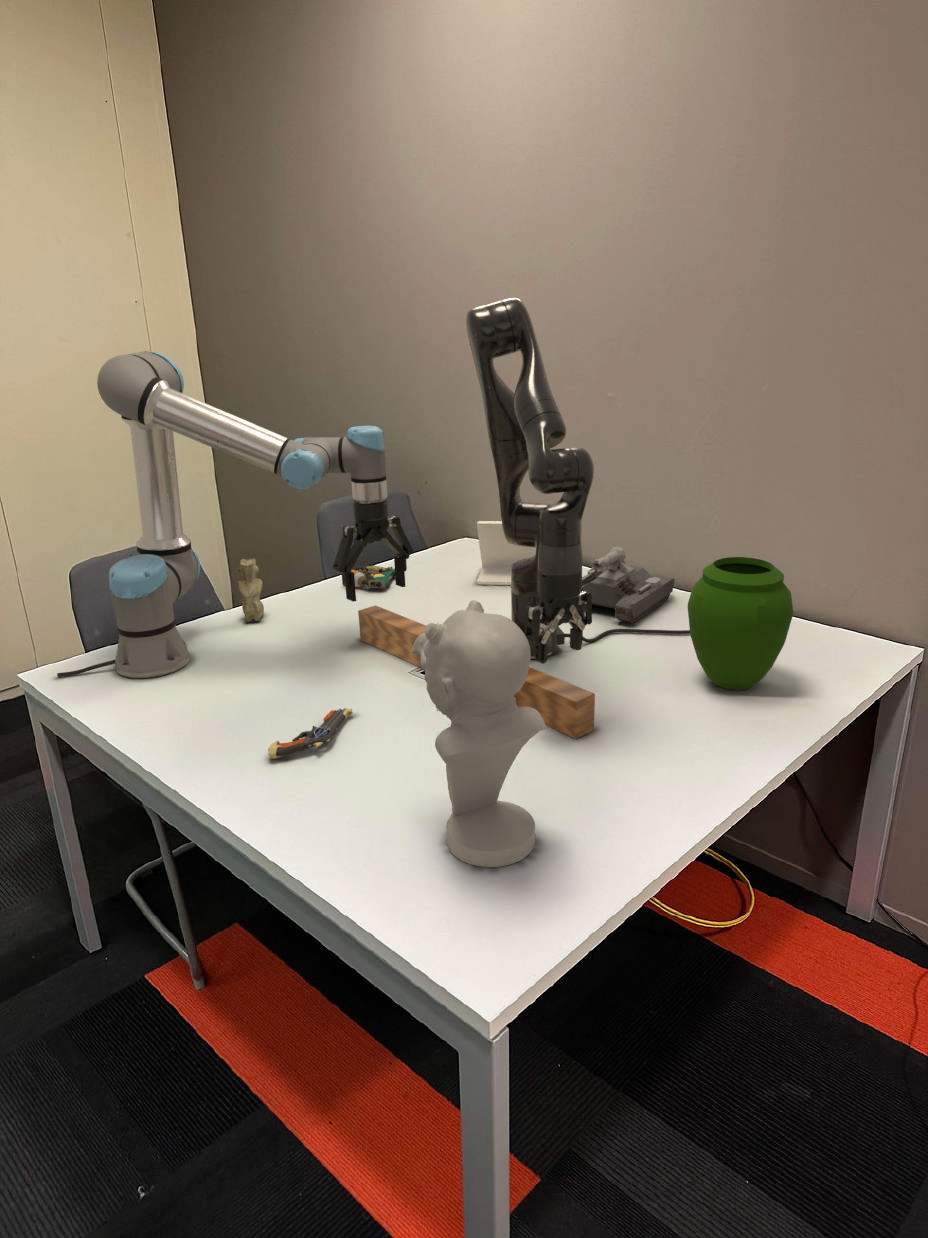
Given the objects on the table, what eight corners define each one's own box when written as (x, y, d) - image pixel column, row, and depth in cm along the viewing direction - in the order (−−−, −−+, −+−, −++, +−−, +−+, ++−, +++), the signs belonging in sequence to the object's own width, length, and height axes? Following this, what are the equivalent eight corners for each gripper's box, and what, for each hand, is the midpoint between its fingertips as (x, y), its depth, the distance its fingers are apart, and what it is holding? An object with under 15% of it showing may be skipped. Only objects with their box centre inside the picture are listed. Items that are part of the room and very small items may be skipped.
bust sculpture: (481, 772, 140) (476, 569, 128) (565, 848, 120) (569, 617, 108) (392, 800, 134) (378, 588, 121) (465, 886, 114) (457, 642, 101)
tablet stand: (569, 585, 229) (570, 524, 223) (476, 584, 232) (475, 523, 226) (570, 566, 246) (571, 508, 240) (484, 564, 249) (483, 507, 243)
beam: (594, 729, 154) (595, 693, 151) (575, 738, 151) (576, 702, 148) (377, 634, 200) (375, 605, 198) (360, 639, 197) (358, 610, 195)
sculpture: (268, 613, 216) (261, 555, 210) (263, 623, 209) (256, 564, 204) (245, 614, 215) (238, 556, 210) (239, 624, 209) (232, 565, 203)
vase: (795, 674, 173) (808, 558, 164) (770, 712, 157) (784, 587, 149) (700, 656, 183) (708, 546, 174) (668, 690, 167) (675, 571, 159)
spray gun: (366, 572, 247) (411, 580, 241) (334, 586, 233) (382, 594, 227) (366, 558, 246) (412, 565, 240) (334, 571, 232) (382, 579, 226)
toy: (603, 584, 229) (605, 530, 224) (673, 597, 218) (677, 540, 213) (555, 612, 210) (556, 553, 205) (630, 627, 199) (633, 566, 194)
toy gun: (263, 749, 145) (318, 746, 143) (303, 706, 163) (352, 703, 161) (266, 763, 146) (321, 761, 144) (306, 719, 164) (355, 716, 161)
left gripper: (405, 487, 194) (409, 576, 202) (311, 506, 179) (320, 602, 187) (426, 492, 189) (430, 583, 197) (330, 512, 174) (339, 610, 181)
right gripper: (573, 554, 152) (571, 639, 157) (513, 571, 143) (514, 659, 149) (604, 563, 146) (601, 650, 152) (545, 580, 138) (544, 672, 144)
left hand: (376, 592), depth 192 cm, fingers open, 13 cm apart
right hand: (558, 655), depth 150 cm, fingers open, 8 cm apart
